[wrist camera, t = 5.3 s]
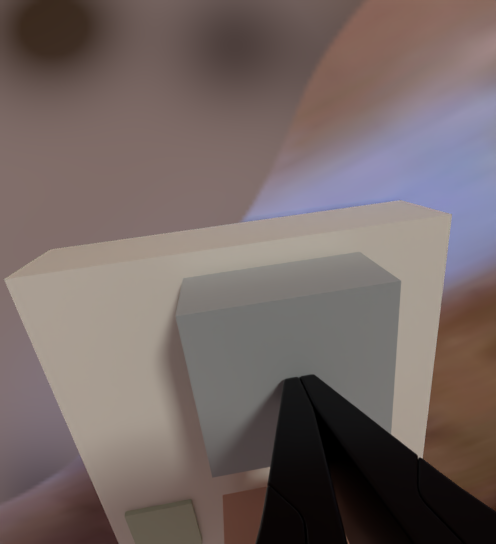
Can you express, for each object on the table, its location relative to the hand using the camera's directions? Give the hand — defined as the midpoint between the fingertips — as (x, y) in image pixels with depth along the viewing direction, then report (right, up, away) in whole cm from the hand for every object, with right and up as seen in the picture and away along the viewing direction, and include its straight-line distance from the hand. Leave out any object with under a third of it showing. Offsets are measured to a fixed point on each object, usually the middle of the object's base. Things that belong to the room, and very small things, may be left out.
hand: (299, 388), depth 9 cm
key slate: (0, +1, +2) cm, 2 cm away
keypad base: (0, -9, +10) cm, 13 cm away
